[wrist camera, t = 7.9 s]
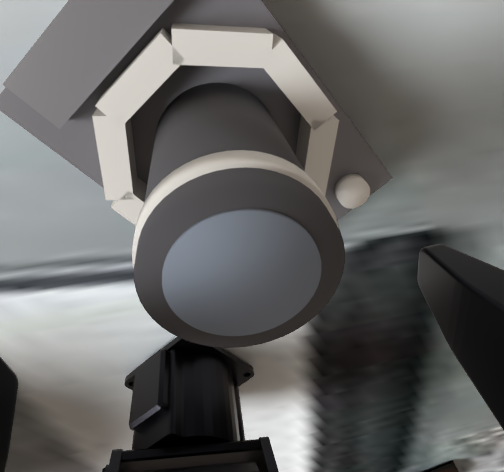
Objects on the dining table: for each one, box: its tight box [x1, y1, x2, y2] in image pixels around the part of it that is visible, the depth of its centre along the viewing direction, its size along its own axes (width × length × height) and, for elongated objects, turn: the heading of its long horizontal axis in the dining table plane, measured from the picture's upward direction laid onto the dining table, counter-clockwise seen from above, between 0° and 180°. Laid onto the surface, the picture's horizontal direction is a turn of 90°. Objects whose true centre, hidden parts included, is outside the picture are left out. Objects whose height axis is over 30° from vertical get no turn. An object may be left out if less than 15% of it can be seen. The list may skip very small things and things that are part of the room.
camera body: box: [0, 0, 393, 226], centre depth 16 cm, size 13×9×4 cm
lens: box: [132, 83, 345, 348], centre depth 12 cm, size 5×5×8 cm
